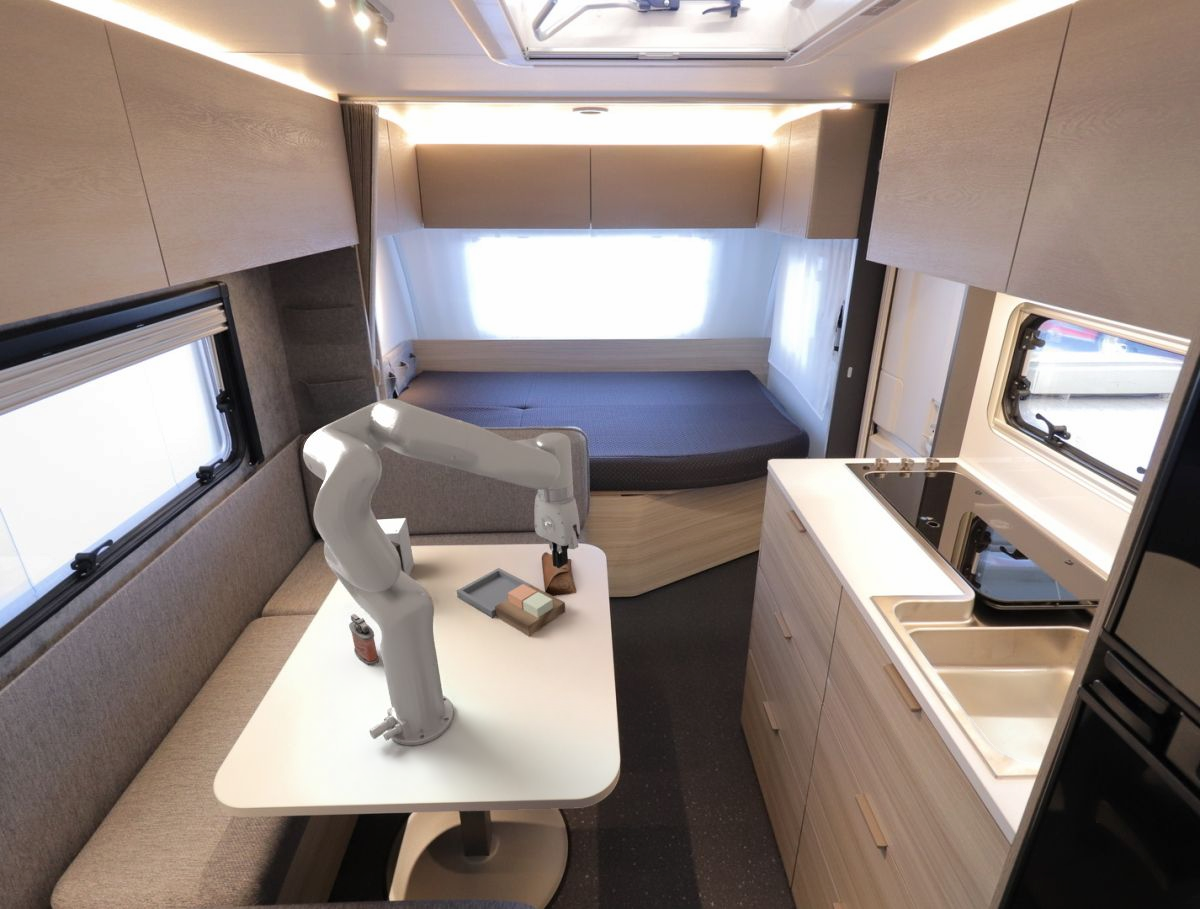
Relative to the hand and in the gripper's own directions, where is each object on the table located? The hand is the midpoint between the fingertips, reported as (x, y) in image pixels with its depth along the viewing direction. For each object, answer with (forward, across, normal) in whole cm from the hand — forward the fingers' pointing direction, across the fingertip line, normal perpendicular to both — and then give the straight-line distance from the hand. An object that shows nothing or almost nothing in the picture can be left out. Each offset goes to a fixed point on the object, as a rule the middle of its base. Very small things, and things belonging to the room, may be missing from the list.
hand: (560, 564), depth 138 cm
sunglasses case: (+19, -18, +16) cm, 31 cm away
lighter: (+19, -29, -34) cm, 49 cm away
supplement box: (+19, -55, -11) cm, 59 cm away
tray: (+19, -25, 0) cm, 31 cm away
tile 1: (+16, -14, 0) cm, 21 cm away
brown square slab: (+19, -12, 0) cm, 22 cm away
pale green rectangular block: (+16, -8, 0) cm, 18 cm away
